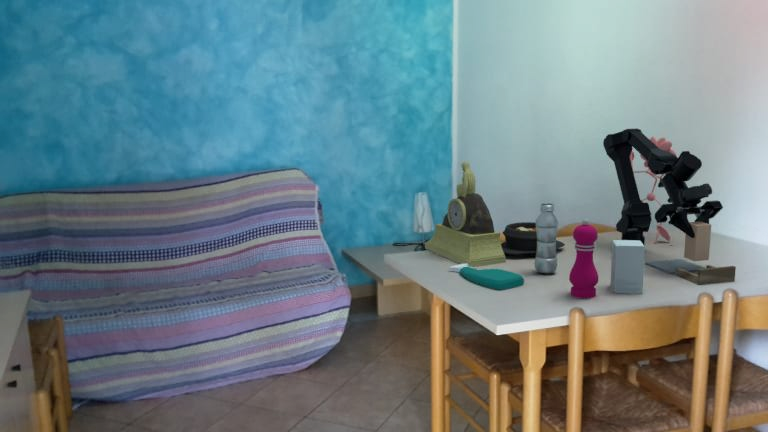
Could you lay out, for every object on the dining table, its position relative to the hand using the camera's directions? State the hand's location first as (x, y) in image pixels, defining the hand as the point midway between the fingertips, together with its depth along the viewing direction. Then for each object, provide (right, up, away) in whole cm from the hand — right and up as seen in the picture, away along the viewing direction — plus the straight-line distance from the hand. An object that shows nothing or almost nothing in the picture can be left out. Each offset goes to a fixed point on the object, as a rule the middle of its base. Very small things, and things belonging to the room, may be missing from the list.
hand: (701, 236), depth 194 cm
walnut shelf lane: (+1, -11, 0) cm, 11 cm away
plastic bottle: (-41, -11, +9) cm, 43 cm away
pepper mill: (-36, -15, -13) cm, 41 cm away
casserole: (-40, -6, +34) cm, 53 cm away
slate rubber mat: (-2, -9, +11) cm, 15 cm away
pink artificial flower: (+6, -2, +48) cm, 49 cm away
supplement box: (-24, -14, -9) cm, 29 cm away
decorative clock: (-62, -7, +31) cm, 70 cm away
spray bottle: (-59, -12, +5) cm, 61 cm away
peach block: (0, -6, +3) cm, 7 cm away
